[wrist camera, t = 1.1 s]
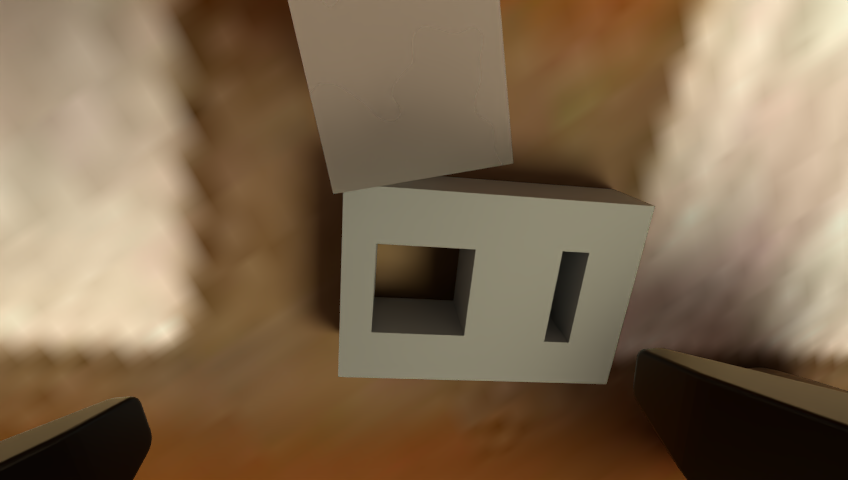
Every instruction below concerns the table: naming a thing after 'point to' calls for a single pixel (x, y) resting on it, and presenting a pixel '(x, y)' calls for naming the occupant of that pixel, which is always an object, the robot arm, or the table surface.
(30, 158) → the table surface
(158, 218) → the table surface
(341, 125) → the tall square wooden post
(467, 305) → the bore block
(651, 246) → the table surface
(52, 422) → the robot arm
